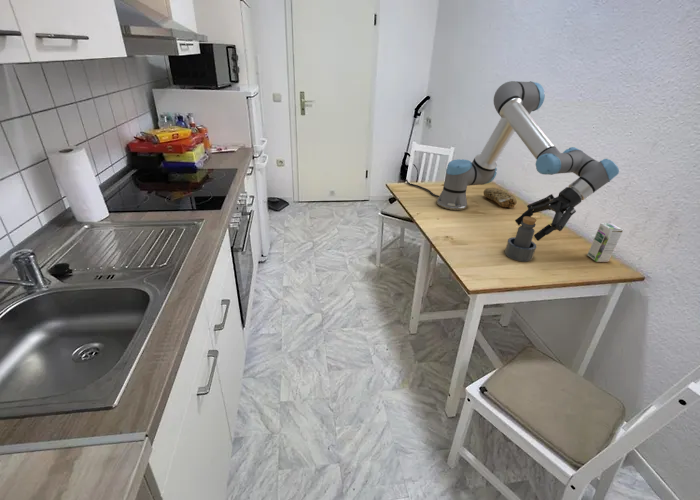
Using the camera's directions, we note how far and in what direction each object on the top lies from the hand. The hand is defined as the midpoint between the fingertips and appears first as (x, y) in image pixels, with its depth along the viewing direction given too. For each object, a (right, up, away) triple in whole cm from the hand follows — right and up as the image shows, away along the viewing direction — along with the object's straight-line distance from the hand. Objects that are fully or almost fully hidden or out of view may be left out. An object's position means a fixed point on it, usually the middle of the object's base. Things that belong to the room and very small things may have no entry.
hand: (525, 230), depth 140 cm
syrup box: (+32, -11, +6) cm, 34 cm away
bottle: (0, -9, +5) cm, 10 cm away
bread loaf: (+14, +19, +60) cm, 64 cm away
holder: (0, -10, +5) cm, 11 cm away
